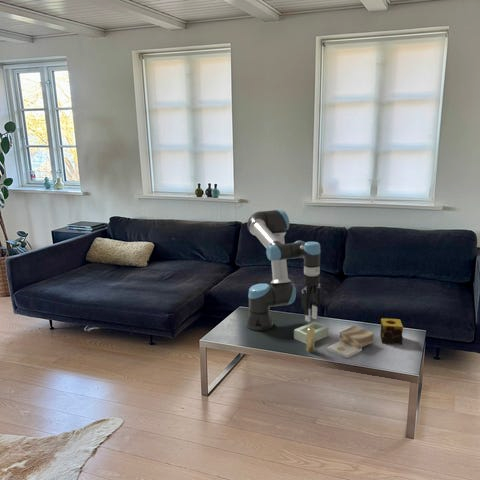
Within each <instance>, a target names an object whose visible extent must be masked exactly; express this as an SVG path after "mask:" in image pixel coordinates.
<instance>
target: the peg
mask: <svg viewBox="0 0 480 480" xmlns="http://www.w3.org/2000/svg"><path fill="white" fill-rule="evenodd" d="M315 343H316V342H315V328H314V327H307V337H306V344H305V345H306V348H305V350H306V352H307V353H315Z"/></svg>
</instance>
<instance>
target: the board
mask: <svg viewBox="0 0 480 480" xmlns="http://www.w3.org/2000/svg"><path fill="white" fill-rule="evenodd" d="M326 348H327V351H329V352H331V353H333V354H336V355H339V356H341V357H342V358H345V359H349V358H350V357H352V356H354V355H356V354H358V353H360V352H361V351H363V347H362V348H360V349H358V348H355V347H353V346H351V345H348V344H346V343H343V342H341V341H340V340H339V341H337V342H335V343H333V344H331V345H329V346H327V347H326Z"/></svg>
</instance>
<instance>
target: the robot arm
mask: <svg viewBox="0 0 480 480" xmlns="http://www.w3.org/2000/svg"><path fill="white" fill-rule="evenodd" d="M246 225H247V229H248V231H249V233H250V234H251V235H252V236H255V237H256V239H258V240H259V242H260V243H261V244H262V245H263V246H264V248H265V249H266V251H265V254H266V257H267V259H268V260H269V261H271V262H270V263H271V273H272V274H271V275H272V280H271V281H270V284H268V283H257V284H254V285H251V286H250V287H249V289H248V295H247V296H248V315H247V318H246V319H245V320H246V321H245V326H246V327H247V329H250V330H253V331H266V330H269V329H272V328H273V325H274V322H273V321H274V320H273V318H272V314H271V310H270V308H273V307H280V306H281V307H282V306H288V305H291V304H293V303H294V302H295V300H296V298H297V297H296V295H297V288H296V286H295V284H294V283H292V280H291V279H290V278H289V276H288V275H289V274H288V266H287V265H288V263H287V260H290V259H303V282H304V287H303V288H301V289H300V293H301V294H300V295H301V297H300V298H301V299H300V300H301V306H300V308H301V309H304V321H305V322H308V323H311V319H314V320H317V319H318V308H319V307H320V306H321V303H322V289H323V284H321V283H320V281H321V280H320V279H321V278H320V273H321V269H320V267H321V244H320V243H319V242H318V241H307V242H306V241H303V240H296V241H295V242H291V243H285V235H286V234H287V230H289V228H290V219H289V216H288V214H287V213H286V211H285V210H283V209H275V210H274V209H273V210H263V211H262V210H260V211H256V212H254V213H252V214H251V215H250V217H249V218H248V219H247V224H246ZM311 299H312V305H311ZM310 305H311V308H310Z"/></svg>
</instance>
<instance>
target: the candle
mask: <svg viewBox="0 0 480 480" xmlns="http://www.w3.org/2000/svg"><path fill="white" fill-rule="evenodd" d="M403 330H404V326H403V324H402V321H401V319H398V318H385V317H384V318H383V317H382V318H381V319H380V333H379V334H380V339H381V343H382V344H386V345H387V344H388V345H400V346H401V345H402V346H403V332H404V331H403Z"/></svg>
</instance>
